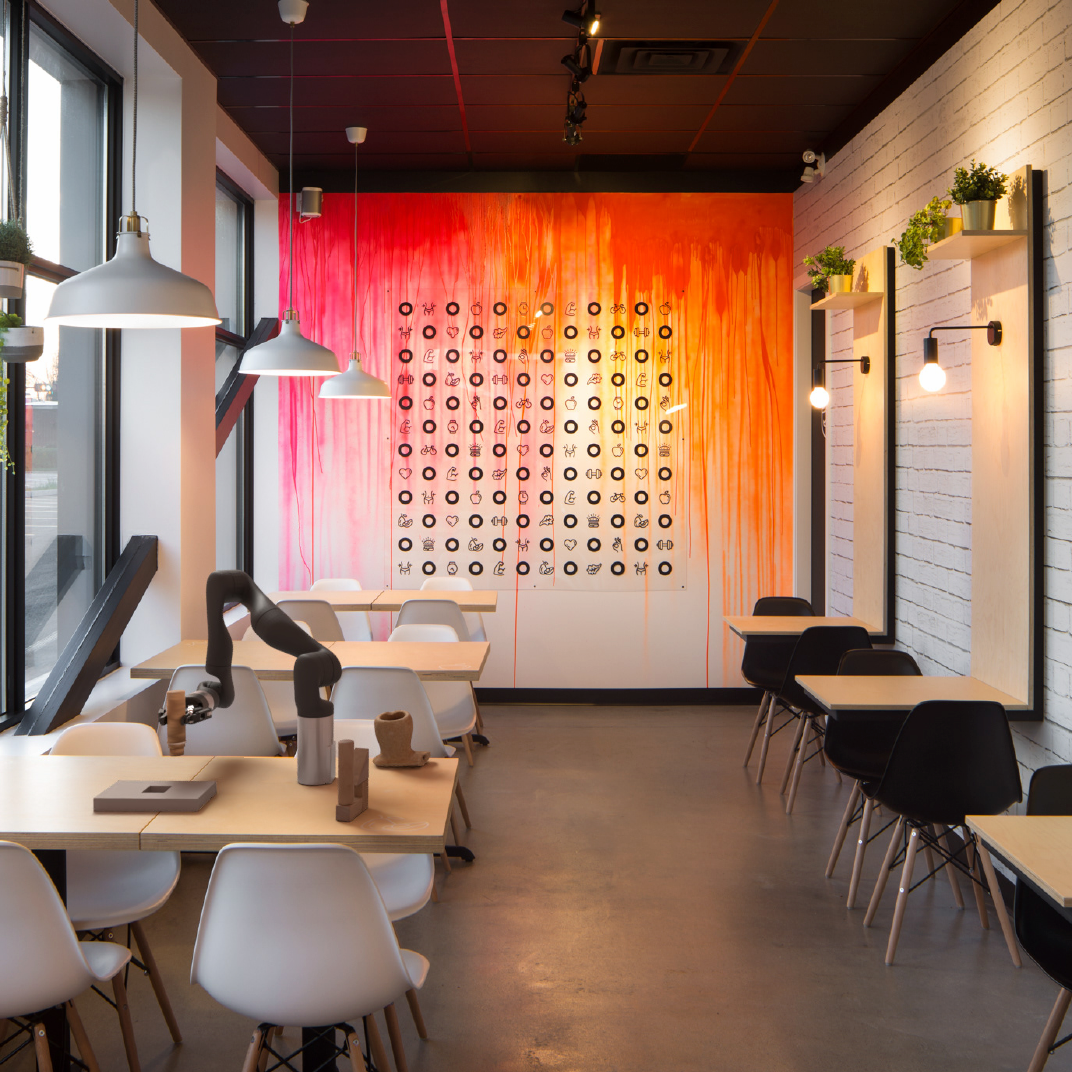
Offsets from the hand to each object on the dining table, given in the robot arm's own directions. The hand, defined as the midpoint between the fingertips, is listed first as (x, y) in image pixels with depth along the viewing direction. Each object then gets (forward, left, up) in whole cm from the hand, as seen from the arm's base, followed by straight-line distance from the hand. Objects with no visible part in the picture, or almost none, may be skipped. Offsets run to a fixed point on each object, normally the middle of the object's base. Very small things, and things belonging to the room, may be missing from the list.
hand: (172, 721), depth 241 cm
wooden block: (-48, +18, -17) cm, 54 cm away
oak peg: (0, -3, -9) cm, 9 cm away
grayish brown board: (0, +10, -17) cm, 20 cm away
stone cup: (-54, -22, -17) cm, 61 cm away
